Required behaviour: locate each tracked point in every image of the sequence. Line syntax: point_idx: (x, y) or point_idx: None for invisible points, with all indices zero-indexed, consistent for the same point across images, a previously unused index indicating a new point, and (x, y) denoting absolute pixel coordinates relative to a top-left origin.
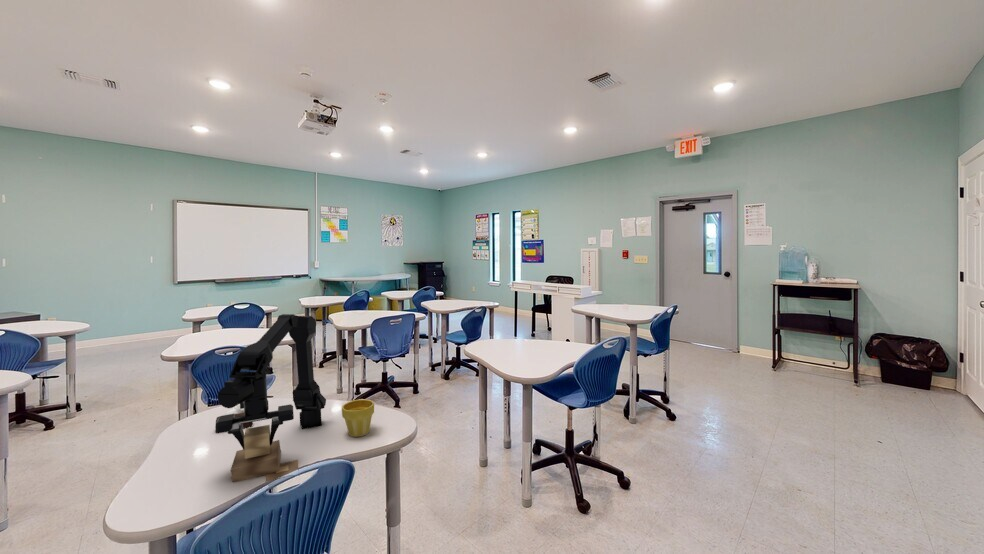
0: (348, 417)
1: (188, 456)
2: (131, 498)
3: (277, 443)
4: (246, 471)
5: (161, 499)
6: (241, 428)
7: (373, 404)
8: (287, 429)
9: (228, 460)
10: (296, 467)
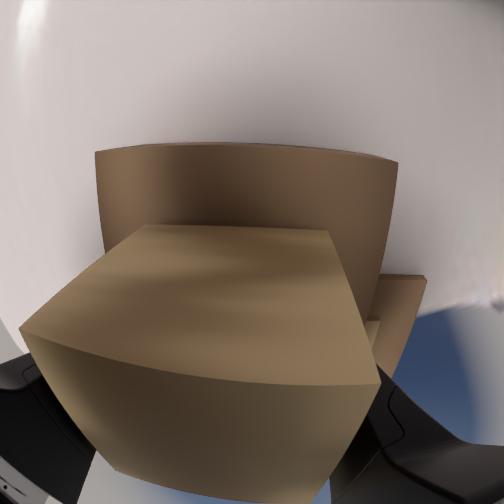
0: None
1: (8, 36)
2: None
3: (379, 229)
4: None
5: (19, 288)
6: (38, 471)
7: None
8: None
9: (100, 88)
10: (400, 343)
